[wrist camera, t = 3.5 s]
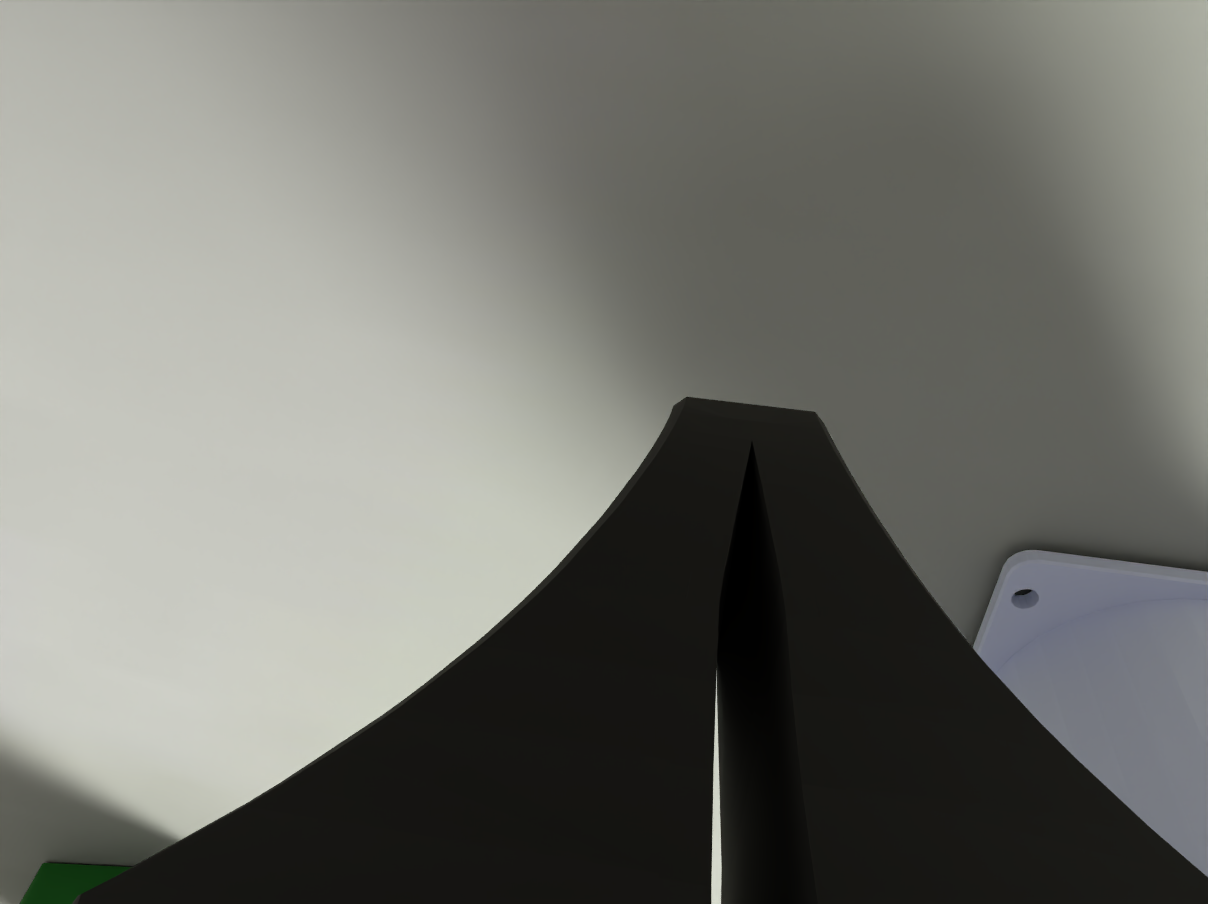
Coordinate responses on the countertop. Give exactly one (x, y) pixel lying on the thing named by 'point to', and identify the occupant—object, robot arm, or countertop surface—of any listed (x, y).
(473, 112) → the countertop surface
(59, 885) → the milk carton
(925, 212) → the countertop surface
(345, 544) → the countertop surface
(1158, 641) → the robot arm
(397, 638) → the countertop surface
